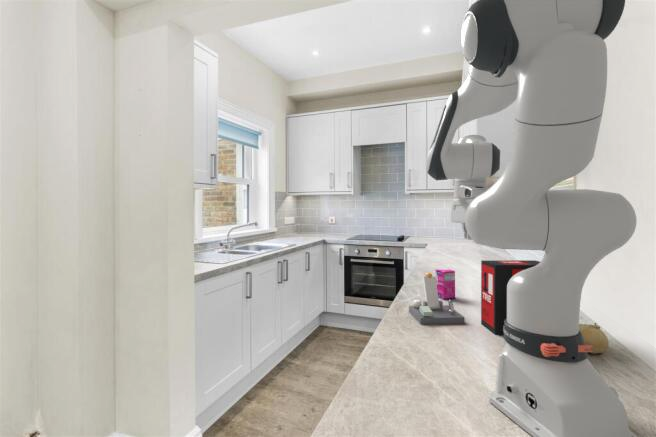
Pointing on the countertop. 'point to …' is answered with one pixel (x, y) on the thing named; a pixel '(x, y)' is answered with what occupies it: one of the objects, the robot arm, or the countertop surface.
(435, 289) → the lever
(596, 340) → the onion
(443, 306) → the panel
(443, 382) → the countertop surface
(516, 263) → the cleaning product box
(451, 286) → the supplement box
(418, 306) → the button
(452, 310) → the toggle
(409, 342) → the countertop surface
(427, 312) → the rocker
